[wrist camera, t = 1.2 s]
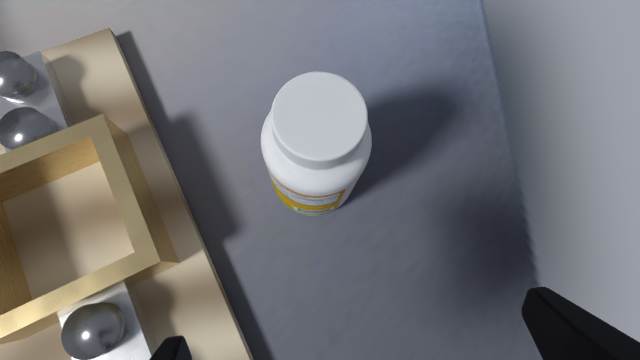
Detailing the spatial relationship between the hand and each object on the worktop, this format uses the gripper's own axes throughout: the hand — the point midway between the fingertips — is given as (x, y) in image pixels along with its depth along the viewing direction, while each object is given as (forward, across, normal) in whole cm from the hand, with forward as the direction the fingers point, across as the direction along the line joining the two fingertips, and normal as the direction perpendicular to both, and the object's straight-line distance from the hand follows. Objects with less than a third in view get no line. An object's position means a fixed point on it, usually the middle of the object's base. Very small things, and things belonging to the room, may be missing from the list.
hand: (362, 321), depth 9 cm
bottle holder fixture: (+13, +14, +5) cm, 20 cm away
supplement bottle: (+15, 0, +4) cm, 15 cm away
